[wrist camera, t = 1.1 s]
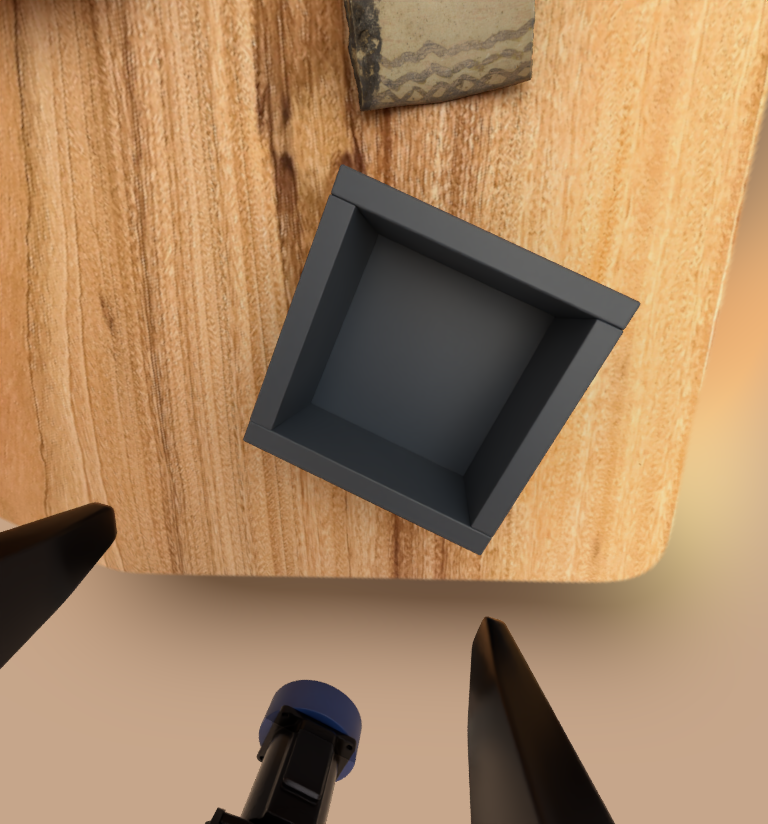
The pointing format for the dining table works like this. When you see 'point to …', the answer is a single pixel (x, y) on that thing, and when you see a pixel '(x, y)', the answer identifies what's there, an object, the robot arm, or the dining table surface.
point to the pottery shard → (437, 48)
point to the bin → (429, 360)
